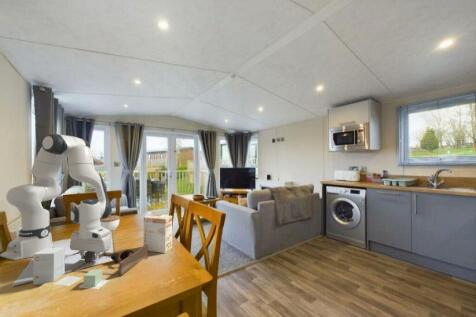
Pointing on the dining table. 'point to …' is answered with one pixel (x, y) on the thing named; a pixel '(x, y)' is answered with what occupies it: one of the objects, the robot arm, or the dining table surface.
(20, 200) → the robot arm
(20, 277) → the dining table surface
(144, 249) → the sled strip
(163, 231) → the coffeecake box
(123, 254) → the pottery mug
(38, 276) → the small box
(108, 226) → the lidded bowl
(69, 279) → the broken strip
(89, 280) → the sage cube
